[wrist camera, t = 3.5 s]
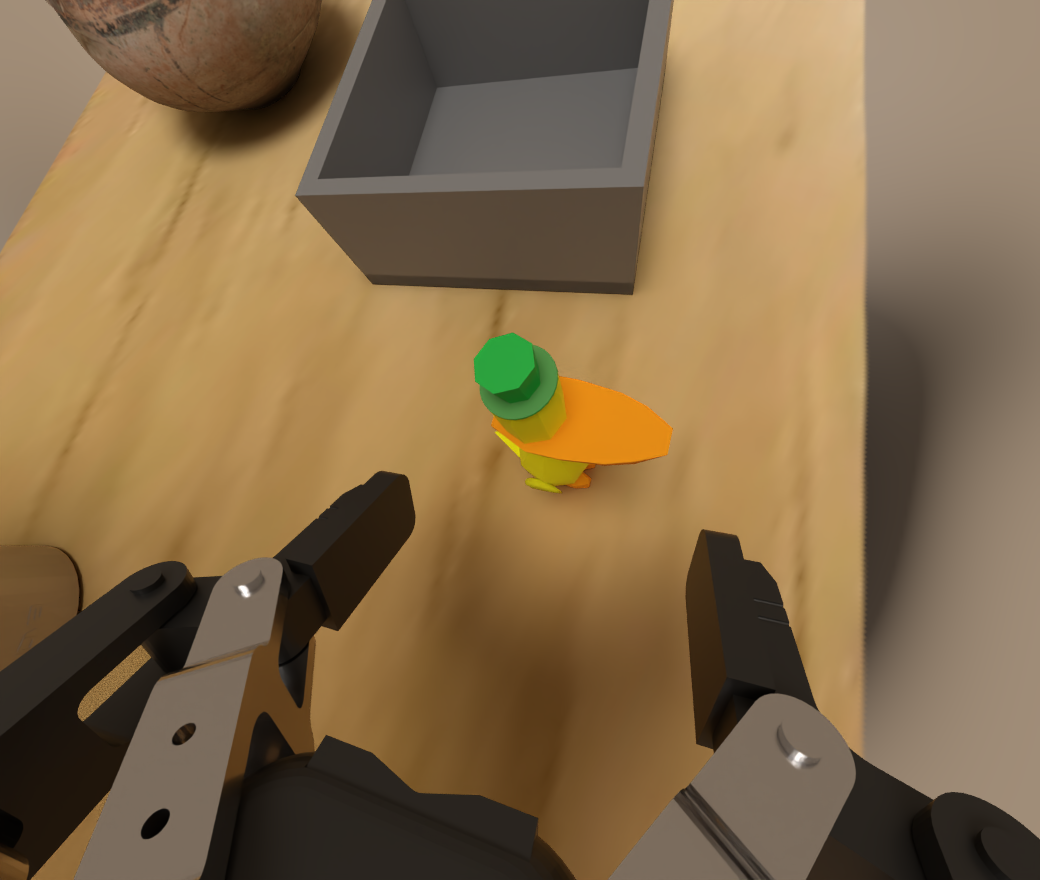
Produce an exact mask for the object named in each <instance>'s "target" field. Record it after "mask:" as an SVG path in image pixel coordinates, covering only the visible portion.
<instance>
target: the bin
mask: <svg viewBox="0 0 1040 880" xmlns="http://www.w3.org/2000/svg"><path fill="white" fill-rule="evenodd" d="M673 2H674V0H372V2H371V5H370V7H369V10H368V12H367V15H366V17H365V20H364V22H363V25H362V27H361V30H360V33H359V35H358V38H357V40H356V43H355V45H354V48H353V50H352V53H351V55H350V58H349V60H348V63H347V65H346V68H345V71H344V73H343V76H342V78H341V81H340V83H339V86H338V88H337V91H336V93H335V96H334V98H333V101H332V103H331V106H330V109H329V111H328V114H327V116H326V119H325V121H324V124H323V126H322V129H321V131H320V134H319V136H318V139H317V142H316V144H315V147H314V149H313V152H312V154H311V157H310V159H309V162H308V164H307V167H306V169H305V172H304V174H303V177H302V180H301V182H300V185H299V187H298V190H297V192H296V195H295V196H296V197H297V198H298V199H299V201H300V202H301V203H302V204H303V205H304V206H305V207H306V209H307V210H308V211H309V212H310V213H311V214H312V215H313V217H314V218H315V219H316V220H317V221H318V222H319V223H320V225H321V226H322V227H323V228H324V229H325V230H326V231H327V233H328V234H329V235H330V236H331V237H332V238H333V239H334V241H335V242H336V243H337V244H338V245H339V246H340V247H341V248H342V250H343V251H344V252H345V253H346V254H347V255H348V256H349V258H350V259H351V260H352V261H353V262H354V263H355V264H356V266H357V267H358V268H359V269H360V270H361V271H362V272H363V274H364V275H365V276H366V277H367V278H368V279H369V280H370V282H371V283H372V284H384V285H409V286H434V287H459V288H484V289H509V290H534V291H559V292H584V293H609V294H633V288H634V281H635V275H636V268H637V261H638V254H639V247H640V240H641V233H642V226H643V220H644V213H645V206H646V199H647V192H648V185H649V178H650V171H651V164H652V158H653V151H654V144H655V137H656V130H657V123H658V116H659V109H660V103H661V96H662V89H663V82H664V75H665V67H666V59H667V51H668V43H669V35H670V27H671V18H672V10H673Z"/></svg>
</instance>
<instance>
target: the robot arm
mask: <svg viewBox="0 0 1040 880" xmlns="http://www.w3.org/2000/svg"><path fill="white" fill-rule="evenodd" d="M414 525H415V511H414V505H413V500H412V495H411V490H410V484H409V480H408V478H407V476H405V475H402V474H397V473H391V472H386V471H379V472H377V473H376V474H375V475H374V476H372V477H371V478H370V479H369V480H368V481H367V482H366V483H365V484H364V485H359V486H357V487H355V488H353V489H352V490H350V491H348V492H346V493H344V494H343V495H342V496H340V497H339V498H338V499H337V500H336V501H335V502H334V503H333V504H332V505H331V506H330V508H329V509H328V508H327V509H326V510H325V511H324V512H323V513H322V514H321V515H320V516H319V518H318V519H315V520H314V521H313V522H312V523H311V524H310V525H309V526H308V527H306V528H305V529H304V530H303V531H302V532H301V533H300V534H299V535H298V536H297V537H295V538H294V539H293V540H292V541H291V542H290V543H289V544H288V545H287V546H286V547H284V548H283V549H282V550H281V551H280V552H279V553H278V554H277V555H276V556H274V557H273V558H257V559H253V560H249V561H247V562H244V563H242V564H240V565H238V566H236V567H234V568H233V569H231V570H230V571H228V572H227V573H226V574H224V575H223V576H214V577H195V578H193V577H192V575H191V574H190V572H189V570H188V569H187V567H186V566H185V565H184V564H183V563H181V562H177V561H167V562H162V563H157V564H154V565H151V566H149V567H146V568H144V569H142V570H140V571H138V572H136V573H134V574H133V575H131V576H129V577H128V578H126V579H125V580H124V581H122V582H121V583H120V584H118V585H117V586H115V587H114V588H113V589H111V590H110V591H109V592H107V593H106V594H105V595H103V596H102V597H101V598H99V599H98V600H96V601H95V602H94V603H92V604H91V605H90V606H88V607H87V608H86V609H84V610H83V611H82V612H80V613H79V614H78V615H77V611H78V606H79V584H78V577H77V573H76V571H75V568H74V565H73V563H72V562H71V560H70V559H69V558H68V556H67V555H66V554H65V553H63V552H62V551H61V550H59V549H57V548H54V547H50V546H12V545H0V880H30V879H31V878H32V877H33V876H34V875H35V874H36V873H37V871H38V870H39V869H40V868H41V867H42V866H43V865H44V864H45V862H46V861H47V860H48V859H49V858H50V857H51V856H52V855H53V853H54V852H55V851H56V850H57V849H58V848H59V847H60V846H61V844H62V843H63V842H64V841H65V840H66V839H67V838H68V837H69V835H70V834H71V833H72V832H73V831H74V830H75V829H76V828H77V826H78V825H79V824H80V823H81V822H82V821H83V820H84V819H85V817H86V816H87V815H88V814H89V813H90V812H91V811H92V810H93V809H94V807H95V806H96V805H97V804H98V803H99V802H100V801H101V800H102V798H103V797H104V796H105V795H106V794H107V793H108V792H109V791H110V789H111V791H110V793H109V796H108V798H107V800H106V803H105V805H104V808H103V810H102V812H101V815H100V817H99V820H98V822H97V824H96V827H95V829H94V832H93V834H92V836H91V839H90V841H89V844H88V846H87V849H86V851H85V853H84V856H83V858H82V861H81V863H80V865H79V868H78V870H77V873H76V875H75V877H74V880H576V879H575V877H574V876H573V874H572V873H571V872H570V870H569V869H568V867H567V866H566V865H565V863H564V862H563V860H562V859H561V858H560V857H559V856H558V855H557V854H556V853H555V851H554V850H553V849H552V848H551V847H550V846H549V845H548V844H547V843H545V842H544V841H543V840H542V839H541V838H540V837H538V818H536V817H534V816H531V815H529V814H526V813H524V812H521V811H518V810H516V809H513V808H511V807H508V806H506V805H503V804H501V803H498V802H496V801H493V800H490V799H488V798H485V797H483V796H480V795H455V794H426V793H418V792H415V791H414V790H412V789H411V788H410V787H409V786H408V785H407V784H405V783H404V782H403V781H402V780H401V779H400V778H399V777H398V776H397V775H396V774H395V773H393V772H392V771H391V770H390V769H389V768H388V767H387V766H386V765H385V764H384V763H383V762H382V761H380V760H379V759H378V758H377V757H376V756H375V755H374V754H373V753H371V752H368V751H366V750H363V749H361V748H358V747H356V746H353V745H350V744H348V743H345V742H343V741H340V740H338V739H335V738H333V737H330V736H327V735H326V736H325V738H324V739H323V741H322V742H321V744H320V745H319V747H318V749H317V750H316V751H315V749H314V739H313V733H312V729H311V722H310V708H311V696H312V684H313V671H314V659H315V646H316V640H315V637H314V634H315V633H316V632H317V631H318V629H319V628H320V627H321V626H323V627H326V628H330V629H333V630H336V631H339V629H340V628H341V627H342V625H343V624H344V623H345V621H346V620H347V619H348V617H349V616H350V615H351V613H352V612H353V611H354V610H355V608H356V607H357V606H358V604H359V603H360V602H361V600H362V599H363V598H364V596H365V595H366V594H367V592H368V591H369V590H370V588H371V587H372V586H373V584H374V583H375V582H376V580H377V579H378V578H379V576H380V575H381V574H382V572H383V571H384V570H385V568H386V567H387V566H388V564H389V563H390V562H391V560H392V559H393V558H394V556H395V555H396V554H397V553H398V551H399V550H400V549H401V547H402V546H403V545H404V543H405V542H406V541H407V539H408V538H409V537H410V535H411V533H412V531H413V529H414ZM686 610H687V623H688V637H689V650H690V664H691V678H692V691H693V705H694V718H695V732H696V744H698V745H701V746H705V747H708V748H711V749H713V750H714V754H713V756H712V757H711V758H710V759H709V761H708V762H707V763H706V764H705V766H704V767H703V768H702V769H701V771H700V772H699V773H698V774H697V776H696V777H695V778H694V779H693V781H692V782H691V783H690V784H689V785H688V786H687V787H686V788H685V789H682V790H681V791H680V792H679V793H678V794H677V795H676V796H675V797H674V798H673V799H672V800H671V802H670V803H669V804H668V805H667V806H666V808H665V809H664V810H663V811H662V813H661V814H660V815H659V816H658V818H657V819H656V820H655V821H654V823H653V824H652V825H651V826H650V828H649V829H648V830H647V831H646V833H645V834H644V835H643V836H642V838H641V839H640V840H639V841H638V843H637V844H636V845H635V846H634V847H633V849H632V850H631V851H630V852H629V854H628V855H627V856H626V857H625V859H624V860H623V861H622V862H621V864H620V865H619V866H618V867H617V869H616V870H615V871H614V872H613V874H612V875H611V876H610V877H609V879H608V880H1040V839H1039V838H1038V837H1036V836H1035V835H1034V834H1033V833H1032V832H1031V831H1030V830H1028V829H1027V828H1026V827H1025V826H1024V825H1022V824H1021V823H1020V822H1018V821H1017V820H1016V819H1014V818H1013V817H1012V816H1010V815H1009V814H1007V813H1006V812H1004V811H1003V810H1001V809H999V808H998V807H996V806H994V805H992V804H990V803H988V802H987V801H985V800H982V799H980V798H977V797H975V796H972V795H968V794H964V793H958V792H950V793H945V794H942V795H940V796H938V797H937V798H936V799H934V800H933V799H931V798H929V797H927V796H926V795H924V794H922V793H920V792H919V791H917V790H915V789H913V788H912V787H910V786H908V785H906V784H905V783H903V782H901V781H899V780H898V779H896V778H894V777H892V776H890V775H889V774H887V773H885V772H884V771H882V770H880V769H878V768H877V767H875V766H873V765H872V764H870V763H869V762H867V761H865V760H864V759H863V758H861V757H860V756H859V755H857V754H856V753H855V752H853V751H852V750H851V749H850V748H849V747H848V745H847V743H846V742H845V740H844V739H843V737H842V735H841V734H840V733H839V732H838V730H837V729H836V728H835V727H834V726H833V724H832V723H831V722H830V721H829V720H828V719H827V718H826V717H824V716H823V715H822V714H821V713H820V712H819V710H818V708H817V706H816V704H815V701H814V698H813V695H812V692H811V689H810V686H809V683H808V680H807V676H806V673H805V670H804V667H803V664H802V661H801V658H800V655H799V651H798V648H797V645H796V642H795V639H794V636H793V633H792V630H791V627H789V620H788V617H787V614H786V611H785V609H784V608H783V601H782V598H781V595H780V592H779V589H778V586H777V583H776V581H775V580H774V579H773V578H772V576H771V575H770V574H769V573H768V571H767V570H766V569H765V568H764V566H763V565H762V564H761V563H760V562H755V561H750V560H744V558H743V554H742V550H741V546H740V542H739V539H738V537H737V536H736V535H732V534H726V533H721V532H715V531H710V530H704V529H702V530H701V532H700V534H699V537H698V541H697V544H696V548H695V551H694V554H693V558H692V561H691V565H690V568H689V571H688V576H687V582H686ZM140 645H142V646H143V648H144V649H145V650H146V651H147V652H148V654H149V655H150V656H151V657H152V658H151V659H149V660H148V661H147V662H146V663H145V664H144V665H143V666H142V667H141V668H140V669H139V670H138V671H137V672H136V673H135V674H134V675H132V676H131V677H130V678H129V679H128V680H127V681H126V682H125V683H124V684H123V685H122V686H121V687H120V688H119V689H118V690H117V691H116V692H114V693H113V694H112V695H111V696H110V697H109V698H108V699H107V700H106V701H105V702H104V703H103V704H102V705H101V706H100V707H99V708H98V709H96V710H95V711H94V712H93V713H92V714H91V715H90V716H89V717H88V718H87V719H86V720H84V721H83V722H82V721H81V720H80V719H79V718H78V713H77V711H78V707H79V704H80V702H81V701H82V699H83V698H84V696H85V695H86V694H87V693H88V692H89V691H90V690H91V689H92V688H93V687H94V686H95V685H96V684H97V683H98V682H99V681H101V680H102V679H103V678H104V677H105V676H106V675H107V674H108V673H109V672H111V671H112V670H113V669H114V668H115V667H116V666H117V665H118V664H120V663H121V662H122V661H123V660H124V659H125V658H126V657H127V656H128V655H130V654H131V653H132V652H133V651H134V650H135V649H136V648H137V647H139V646H140Z"/></svg>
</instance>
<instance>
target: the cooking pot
mask: <svg viewBox="0 0 1040 880" xmlns="http://www.w3.org/2000/svg"><path fill="white" fill-rule="evenodd" d="M46 1H47V2H48V3H49V4H50V5H51V6H52V7H53V8H54V9H55V11H56V12H57V13H58V15H59V16H60V18H61V19H62V20H63V22H64V23H65V24H66V26H67V27H68V28H69V30H70V31H71V33H72V34H73V35H74V36H75V38H76V39H77V40H78V42H79V43H80V44H81V46H82V47H83V48H84V49H85V50H86V51H87V53H88V54H89V55H90V56H91V57H92V58H93V59H94V60H95V61H96V62H97V63H98V64H99V65H100V66H101V67H102V68H103V69H104V70H105V71H106V72H108V73H109V74H110V75H111V76H113V77H114V78H115V79H117V80H118V81H120V82H121V83H123V84H124V85H126V86H128V87H129V88H131V89H132V90H134V91H136V92H137V93H139V94H141V95H143V96H144V97H146V98H148V99H150V100H152V101H155V102H157V103H159V104H162V105H165V106H169V107H172V108H176V109H180V110H185V111H193V112H221V111H232V110H240V109H252V110H253V109H260V108H263V107H266V106H269V105H271V104H273V103H274V102H276V101H278V100H279V99H280V98H282V97H283V96H284V95H285V94H286V93H287V92H288V91H289V90H290V89H291V88H292V87H293V85H294V84H295V82H296V80H297V78H298V76H299V73H300V69H301V66H302V64H303V61H304V59H305V57H306V55H307V52H308V50H309V47H310V44H311V42H312V39H313V36H314V34H315V31H316V28H317V24H318V19H319V14H320V9H321V0H46Z"/></svg>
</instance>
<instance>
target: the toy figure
mask: <svg viewBox="0 0 1040 880" xmlns="http://www.w3.org/2000/svg"><path fill="white" fill-rule="evenodd" d="M474 369H475V382H477V383H478V384H480V395H481V399H482V401H483V403H484V405H485V406H486V407H487V408H488V409H489V411H490V412H491V413H492V414H493V415H494V418H493V421H492V424H491V426H492V427H493V428H494V429H496V430H497V432H495V433H496V434H497V435H498V436H499V437H500V438H501V439H502V440H503V441H504V442H505V443H506V444H507V445H508V446H509V447H510V448H511V449H512V450H513V451H514V452H515V453H516V454H517V455H518V456H519V457H520V460H521V465H522V466H523V467H524V468H525V469H526V470H527V471H528V472H529V473H530V474H532V475H533V476H534V477H535V478H527V479H526V480H525V484H526V485H528V486H530V487H531V488H534V489H538V490H542V491H548V492H553V493H562V492H561V491H560V490H559V489H558V488H556V487H555V486H559V485H567V486H569V487H573V488H588V487H589V486H590V482H591V479H592V478H590V477H589V476H588V475H586V474H585V473H583V471H584V470H585V469H590V468H594V467H595V465H604V466H607V465H623V464H636V463H639V462H643V461H647V460H650V459H654V458H658V457H661V456H665V455H667V454H668V449H669V445H670V440H671V435H672V430H673V428H672V427H671V426H669V425H668V424H667V423H666V422H665V421H664V420H663V419H661V418H660V417H659V416H658V415H657V414H656V413H654V412H653V411H652V410H651V409H650V408H649V407H647V406H645V405H644V404H642V403H640V402H638V401H636V400H634V399H632V398H630V397H629V396H627V395H625V394H623V393H621V392H617V391H614V390H611V389H608V388H604V387H601V386H598V385H594V384H591V383H588V382H585V381H581V380H577V379H572V378H567V377H561V376H559V375H558V370H557V367H556V364H555V362H554V360H553V359H552V357H551V356H550V354H549V353H547V352H546V351H545V350H544V349H542V348H540V347H538V346H535V345H532V343H530V342H528V341H527V340H525V339H523V338H521V337H520V336H518V335H516V334H514V333H510V334H506V335H503V336H499V337H495V338H492V339H489V340H488V341H487V343H486V344H485V345H484V347H483V348H482V349H481V350H480V352H479V353H478V354H477V356H476V357H475V358H474Z"/></svg>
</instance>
